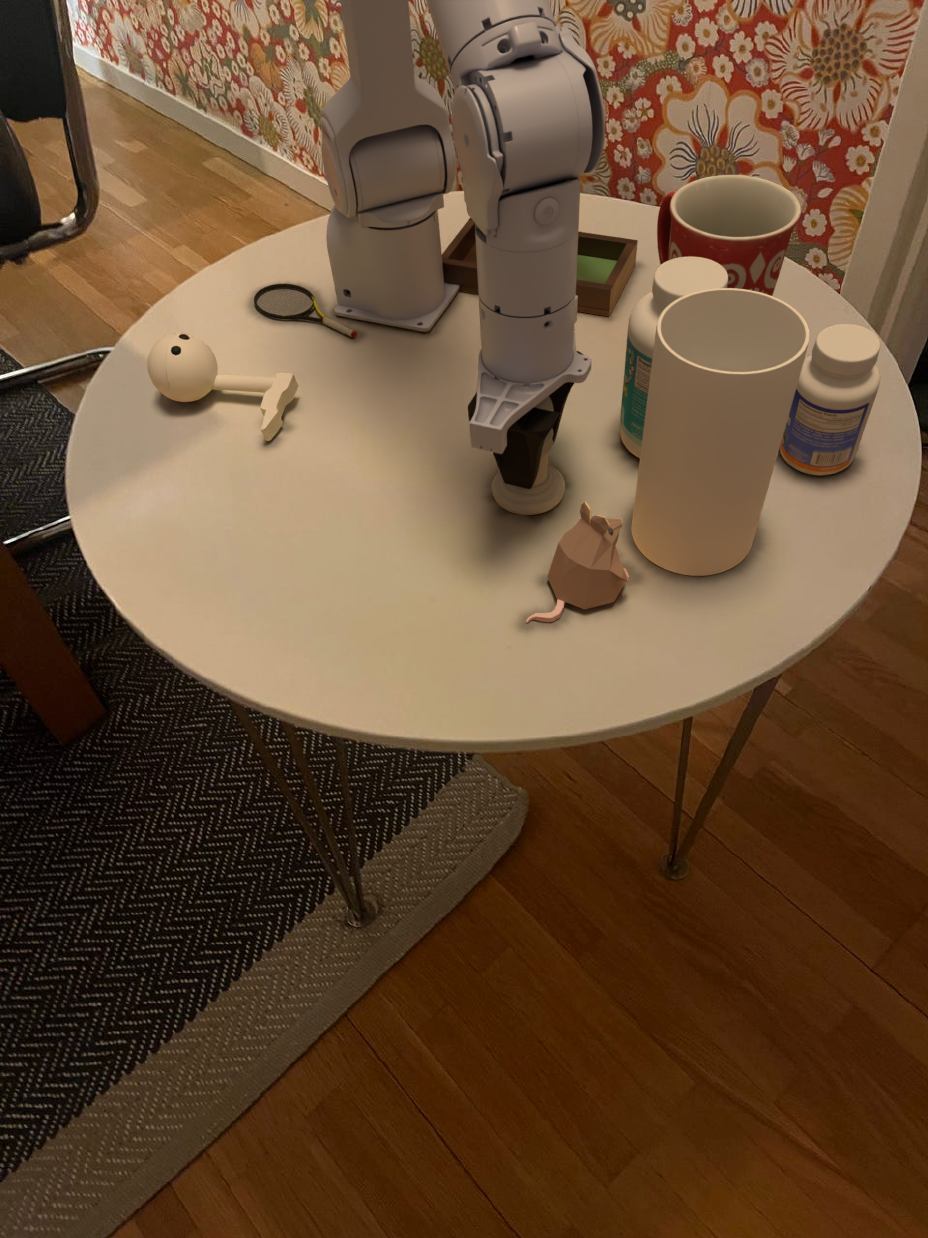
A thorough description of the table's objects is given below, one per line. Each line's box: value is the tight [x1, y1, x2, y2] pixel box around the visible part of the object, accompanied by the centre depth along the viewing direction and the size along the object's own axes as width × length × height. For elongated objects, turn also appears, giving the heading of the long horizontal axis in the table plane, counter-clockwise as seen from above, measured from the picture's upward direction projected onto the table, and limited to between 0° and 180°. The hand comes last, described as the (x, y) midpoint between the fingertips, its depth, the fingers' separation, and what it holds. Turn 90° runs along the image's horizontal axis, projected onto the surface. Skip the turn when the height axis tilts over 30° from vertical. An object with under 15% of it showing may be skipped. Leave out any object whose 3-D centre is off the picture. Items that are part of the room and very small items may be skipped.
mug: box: [656, 174, 802, 297], centre depth 68 cm, size 13×9×14 cm
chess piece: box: [491, 396, 566, 516], centre depth 61 cm, size 5×5×9 cm
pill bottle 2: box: [779, 323, 881, 476], centre depth 61 cm, size 5×5×10 cm
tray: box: [442, 217, 639, 317], centre depth 81 cm, size 9×16×3 cm, turn 68°
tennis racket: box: [253, 283, 358, 339], centre depth 80 cm, size 12×1×5 cm
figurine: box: [146, 332, 299, 442], centre depth 71 cm, size 8×6×12 cm
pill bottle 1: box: [619, 257, 728, 459], centre depth 62 cm, size 8×7×14 cm
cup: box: [631, 288, 810, 577], centre depth 55 cm, size 8×8×16 cm
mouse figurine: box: [525, 501, 630, 624], centre depth 56 cm, size 5×8×7 cm, turn 127°
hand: (528, 465), depth 62 cm, fingers closed on chess piece, 3 cm apart
